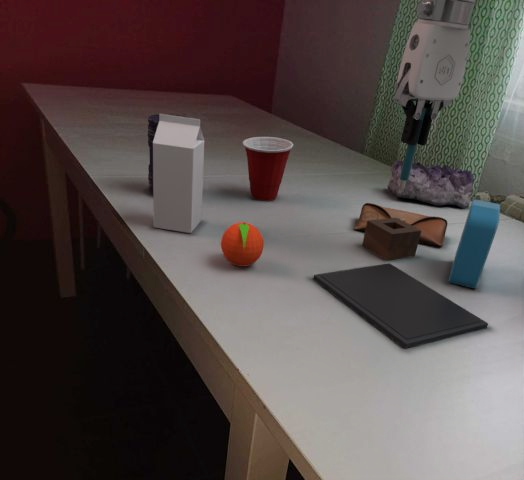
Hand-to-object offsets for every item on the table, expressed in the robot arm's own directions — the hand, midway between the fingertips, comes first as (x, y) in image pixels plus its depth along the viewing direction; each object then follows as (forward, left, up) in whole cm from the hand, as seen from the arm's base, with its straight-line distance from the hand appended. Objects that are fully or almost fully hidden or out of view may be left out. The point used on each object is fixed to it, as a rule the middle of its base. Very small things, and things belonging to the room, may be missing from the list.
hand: (413, 142), depth 90 cm
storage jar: (+27, -41, -20) cm, 53 cm away
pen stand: (0, 0, -19) cm, 19 cm away
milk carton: (+33, -22, -20) cm, 44 cm away
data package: (-6, +13, -20) cm, 24 cm away
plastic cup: (+8, -34, -20) cm, 40 cm away
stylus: (0, 0, -8) cm, 8 cm away
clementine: (+30, -2, -20) cm, 36 cm away
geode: (-33, -24, -20) cm, 45 cm away
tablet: (+13, +17, -19) cm, 29 cm away
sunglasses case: (-9, -7, -20) cm, 23 cm away
